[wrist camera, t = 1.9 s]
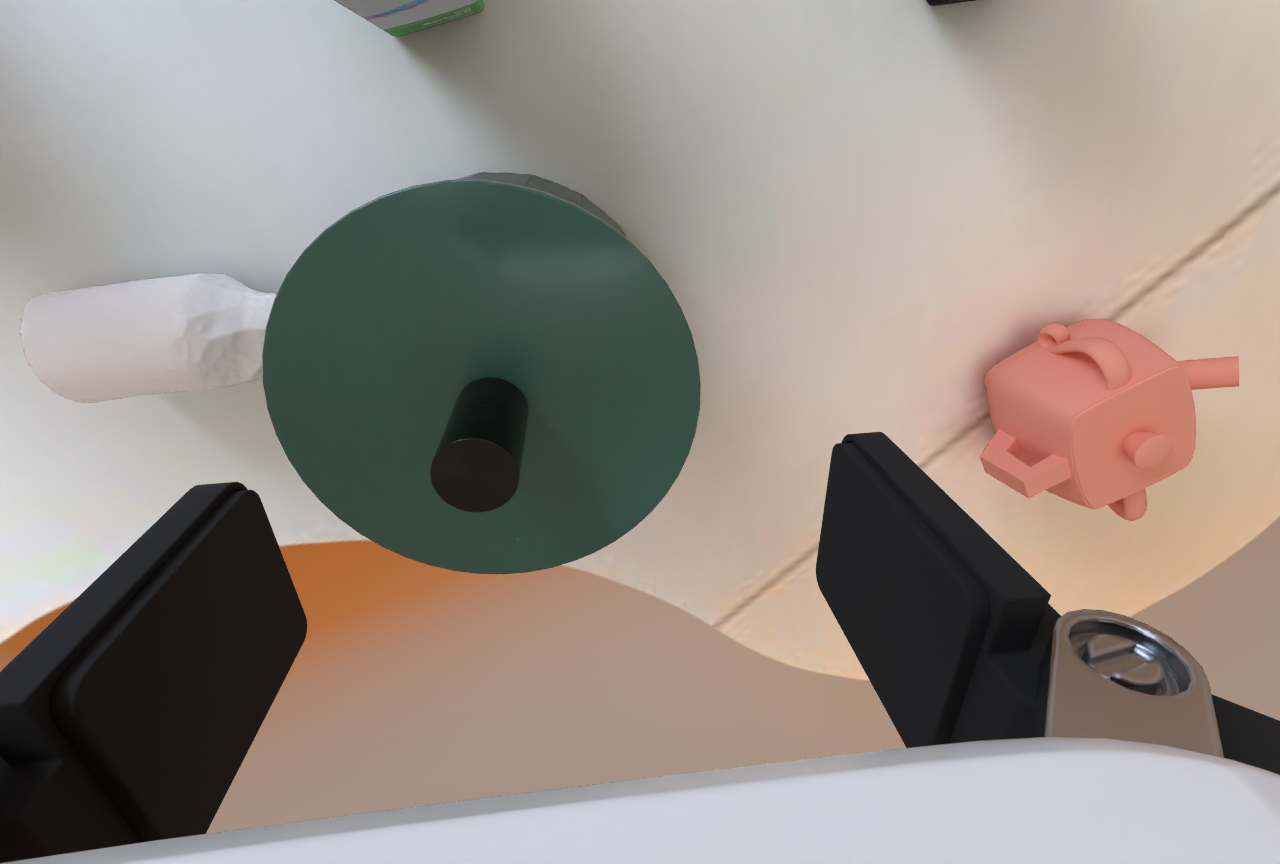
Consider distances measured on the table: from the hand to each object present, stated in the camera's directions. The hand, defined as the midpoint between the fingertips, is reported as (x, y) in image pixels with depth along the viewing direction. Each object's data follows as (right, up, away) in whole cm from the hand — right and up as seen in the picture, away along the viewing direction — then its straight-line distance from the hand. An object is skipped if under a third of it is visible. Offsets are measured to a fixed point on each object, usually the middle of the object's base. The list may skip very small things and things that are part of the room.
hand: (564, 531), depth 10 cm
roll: (-23, +8, +24) cm, 35 cm away
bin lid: (-5, +3, +16) cm, 17 cm away
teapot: (+30, +5, +32) cm, 45 cm away
